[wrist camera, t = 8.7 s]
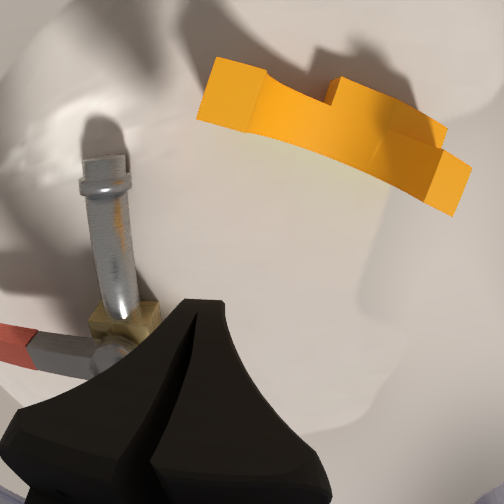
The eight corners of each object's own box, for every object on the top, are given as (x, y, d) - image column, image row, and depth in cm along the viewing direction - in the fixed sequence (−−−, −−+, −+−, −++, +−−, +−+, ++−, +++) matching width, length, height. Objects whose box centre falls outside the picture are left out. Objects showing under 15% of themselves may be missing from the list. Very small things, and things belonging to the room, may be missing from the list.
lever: (137, 336, 19) (128, 356, 17) (147, 371, 20) (140, 392, 18) (-5, 318, 19) (-18, 332, 17) (9, 348, 20) (-2, 363, 18)
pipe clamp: (420, 124, 17) (483, 134, 11) (398, 185, 18) (452, 217, 13) (238, 50, 15) (231, 17, 9) (215, 118, 17) (195, 119, 11)
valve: (172, 383, 25) (165, 411, 22) (125, 377, 25) (115, 403, 22) (147, 152, 18) (127, 159, 15) (84, 156, 17) (58, 164, 15)
